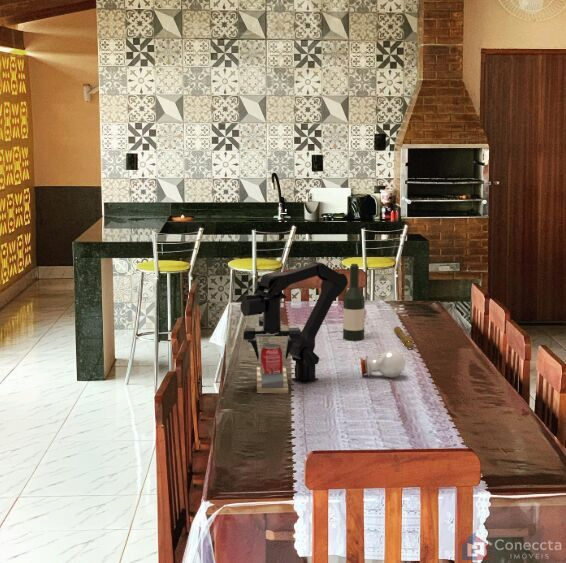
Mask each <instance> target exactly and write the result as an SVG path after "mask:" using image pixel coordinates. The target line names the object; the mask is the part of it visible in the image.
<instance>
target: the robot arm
mask: <svg viewBox="0 0 566 563" xmlns="http://www.w3.org/2000/svg"><path fill="white" fill-rule="evenodd" d="M315 277H317V278H318V279H319V280H321V284H320V295H319V296H318V299H317V301H316V303H315V305H314V306H313V309H312V310H311V312H310V315H309V316H308V318H307V320H306V322H305V325H304V326H303V328H302V329H301V328H300V327H288V330H282V328H281V327H282V315H281V314H282V312H281V311H282V310H281V307H282V302H281V301H282V299H287V295H286V294H285V293H283V292H284V291H285V290H286V289H288V287H289V286H291V285H293V284H297V283H298V282H303V281H305V280H306V281H307V280H308V279H312V278H315ZM348 284H349V281H348V277H347V275H346V274H345V273H341V272H337V271H336V270H334V269H332V268H331V267H329V266H328V265H326V264H325V263H322V262H320V261H313V262H312V263H310V264H305V265H304V266H300V267H296V268H294V269H291V270H288V271H284V272H267V273H265V274H263V275H262V276H261V279H260V282H259V283H258V284H257V286H256V289H255V290H254V292H253V293H252V294H248V293H247V294H244V295H243V298H242V300H241V301H240V307H239V308H240V311H241V314H242V315H243V316H244V317H248V316H257V315H262V316H258V327H262V330H256V327H245V328H244V329H243V331H242V333H243V340H246V341H247V343H250V345H251V346H252V348H253V350H254V353H255V356H256V359H257V360H259V358H260V353H259V346H258V339H257V337H287V339H286V348H285V360H288V358H289V355H290V356H291V358H292V361H295V365H294V377H293V378H292V381H294V382H295V381H296V382H299V383H304V384H309V383H311V382H316V381H318V380H319V378H318V377H316V365H318V364H319V362H320V357H319V355H317V354H316V353H315V347H316V336H317V334H318V332H319V331H320V329H321V327H322V324H323V322H324V321H325V318H326V317H327V315H328V313H329V310H330V308H331V306H332V304H333V303H334V301H335V299H337V298H338V297H340V295H342V294H343V292H344V291H345V289H346V288H347V287H348Z"/></svg>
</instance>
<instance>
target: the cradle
mask: <svg viewBox="0 0 566 563" xmlns="http://www.w3.org/2000/svg"><path fill="white" fill-rule="evenodd" d="M257 393H279V394H289V384H288V376H287V368H286V366H283V374H262V376H261V364H260V365H259V366H256V394H257Z"/></svg>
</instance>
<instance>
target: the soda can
mask: <svg viewBox="0 0 566 563" xmlns="http://www.w3.org/2000/svg"><path fill="white" fill-rule="evenodd" d="M283 363H284V362H283V350H282V348H281V345H280V344H278V343H267V344H263V345H262V349H261V351H260V365H261V376H262V374H283V367H284V364H283Z"/></svg>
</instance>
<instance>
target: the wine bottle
mask: <svg viewBox="0 0 566 563" xmlns="http://www.w3.org/2000/svg"><path fill="white" fill-rule="evenodd" d="M359 269H360V268H359V265H358V263H351V265H350V266H349V288H348V290H347V291H346V292H345V294H344V296H343V301H342V302H343V304H342V305H343V312H342V313H343V317H342V318H343V319H342V322H343V324H342V330H343V331H342V332H343V333H342V339H343V340H345V341H347V342H348V341H351V342H358V341H363V340H364V339H365V309H366V308H365V300H366V297H365V296H364V294H363V293H362V290H361V289H360V286H359V285H360V284H359V281H360V280H359V278H360V275H359V274H360V270H359Z"/></svg>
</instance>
